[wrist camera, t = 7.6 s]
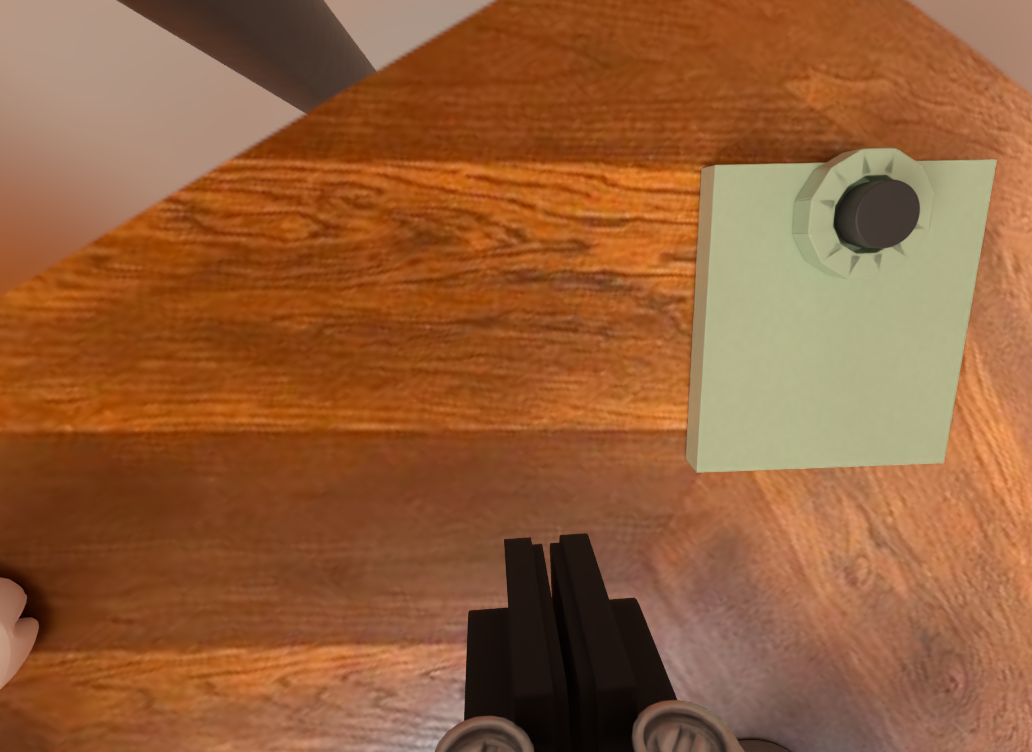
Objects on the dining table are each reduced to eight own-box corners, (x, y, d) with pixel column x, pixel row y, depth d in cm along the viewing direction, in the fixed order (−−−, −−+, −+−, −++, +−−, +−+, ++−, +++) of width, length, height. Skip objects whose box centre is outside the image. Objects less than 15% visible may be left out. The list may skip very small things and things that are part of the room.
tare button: (839, 182, 27) (859, 179, 26) (902, 181, 27) (925, 178, 26) (832, 248, 28) (851, 249, 27) (893, 246, 28) (915, 247, 27)
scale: (701, 159, 30) (728, 150, 26) (968, 153, 30) (1028, 145, 27) (685, 459, 34) (706, 485, 31) (920, 450, 34) (967, 475, 31)
